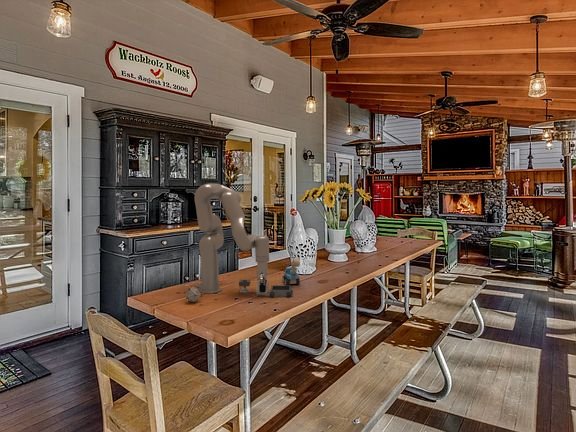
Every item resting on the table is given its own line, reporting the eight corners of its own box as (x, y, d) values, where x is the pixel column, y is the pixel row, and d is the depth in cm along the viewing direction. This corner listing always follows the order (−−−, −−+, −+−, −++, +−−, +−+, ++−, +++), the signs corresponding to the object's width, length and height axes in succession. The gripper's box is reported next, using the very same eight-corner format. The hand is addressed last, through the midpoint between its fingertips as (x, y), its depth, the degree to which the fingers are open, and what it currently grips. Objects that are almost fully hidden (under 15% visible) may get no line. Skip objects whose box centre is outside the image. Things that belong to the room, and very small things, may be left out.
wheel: (238, 286, 204) (238, 282, 204) (240, 283, 210) (240, 279, 209) (249, 286, 204) (249, 282, 204) (250, 283, 209) (250, 279, 209)
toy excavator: (289, 289, 213) (289, 259, 212) (281, 281, 229) (281, 254, 228) (303, 288, 216) (303, 258, 214) (295, 280, 232) (295, 253, 230)
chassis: (268, 297, 198) (267, 291, 198) (269, 290, 211) (269, 284, 211) (292, 297, 198) (292, 291, 198) (292, 290, 211) (292, 284, 211)
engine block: (256, 295, 203) (256, 283, 202) (257, 292, 208) (257, 281, 207) (267, 295, 202) (267, 283, 202) (268, 292, 207) (268, 281, 207)
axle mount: (239, 293, 205) (239, 286, 204) (241, 291, 210) (241, 284, 209) (248, 293, 205) (248, 286, 204) (249, 291, 210) (249, 284, 209)
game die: (191, 308, 193) (187, 290, 198) (206, 302, 193) (202, 284, 197) (183, 304, 185) (179, 286, 190) (198, 299, 185) (195, 280, 189)
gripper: (257, 255, 212) (258, 285, 213) (253, 262, 195) (254, 294, 196) (270, 255, 212) (271, 285, 213) (268, 261, 194) (269, 294, 196)
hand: (263, 289), depth 205 cm, fingers open, 9 cm apart
